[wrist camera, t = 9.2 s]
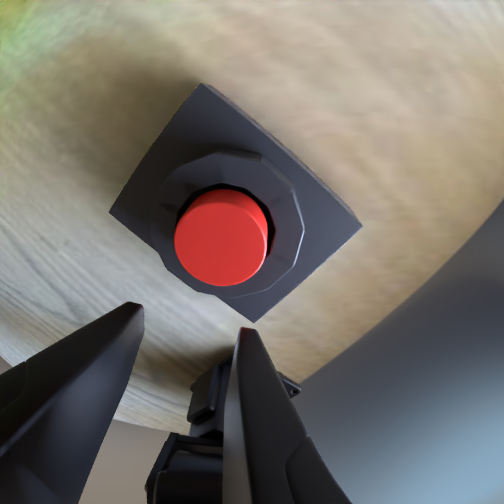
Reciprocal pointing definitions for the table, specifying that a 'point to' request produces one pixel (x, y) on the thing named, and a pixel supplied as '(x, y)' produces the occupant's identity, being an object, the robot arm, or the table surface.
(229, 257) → the button
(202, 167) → the control block
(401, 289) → the table surface
